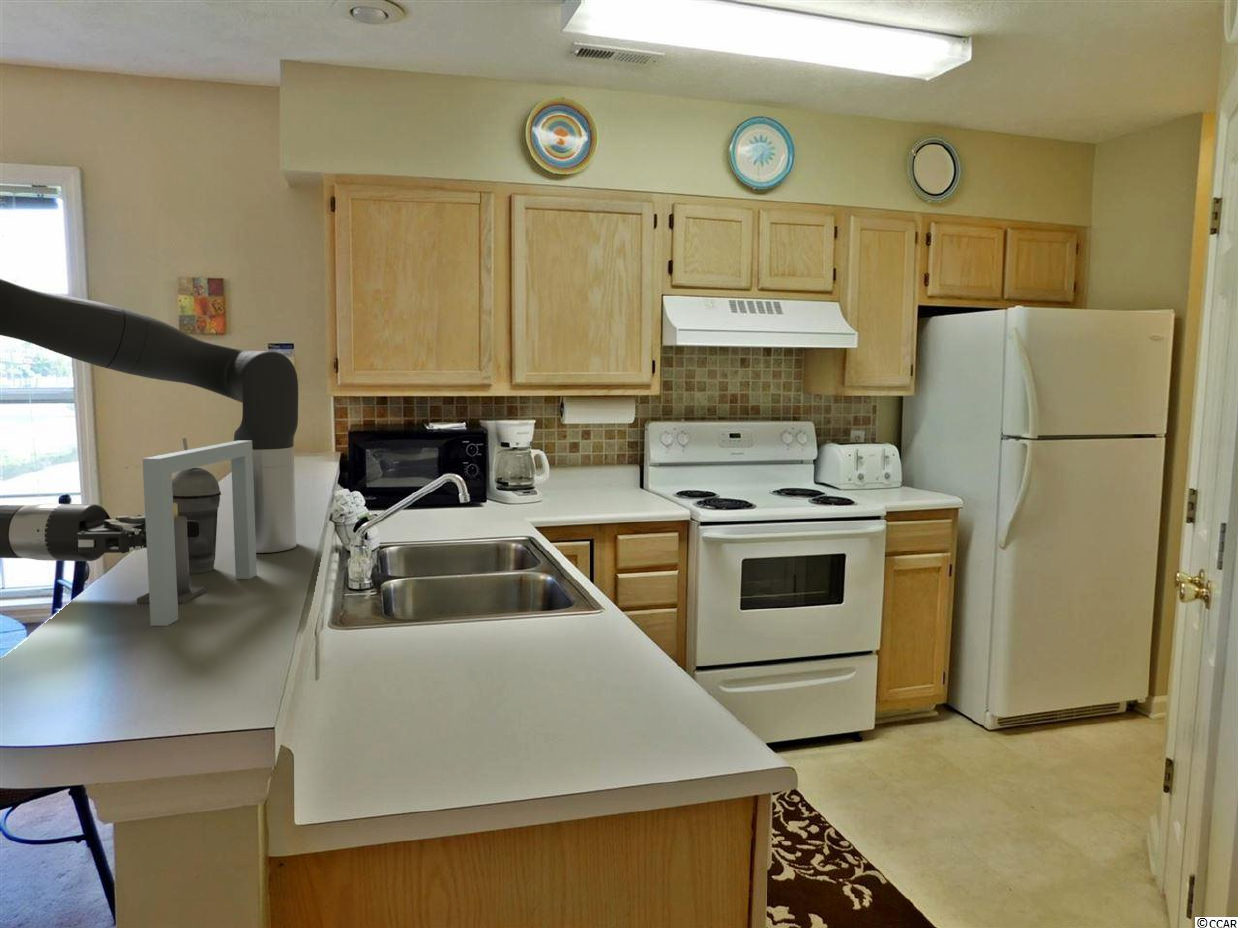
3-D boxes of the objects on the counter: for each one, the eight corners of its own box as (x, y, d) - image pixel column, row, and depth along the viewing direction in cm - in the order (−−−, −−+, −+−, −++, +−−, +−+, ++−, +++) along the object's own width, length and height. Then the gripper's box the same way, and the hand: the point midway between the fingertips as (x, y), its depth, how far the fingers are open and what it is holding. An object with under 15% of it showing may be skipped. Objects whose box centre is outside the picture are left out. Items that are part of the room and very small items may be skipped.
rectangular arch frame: (243, 574, 126) (238, 440, 124) (256, 574, 126) (252, 440, 124) (150, 625, 101) (142, 458, 99) (167, 625, 101) (159, 458, 99)
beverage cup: (209, 576, 125) (204, 440, 123) (160, 575, 125) (154, 439, 123) (232, 565, 132) (228, 436, 130) (186, 564, 132) (181, 435, 130)
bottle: (163, 588, 116) (159, 501, 114) (196, 588, 116) (192, 501, 114) (144, 596, 111) (140, 506, 110) (178, 597, 111) (174, 506, 110)
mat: (161, 590, 117) (161, 586, 117) (205, 591, 117) (205, 587, 117) (137, 602, 111) (136, 598, 111) (183, 603, 111) (182, 598, 111)
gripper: (21, 513, 105) (156, 515, 105) (93, 496, 119) (211, 497, 119) (25, 572, 106) (159, 574, 106) (96, 548, 120) (214, 550, 120)
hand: (186, 533), depth 113 cm, fingers open, 6 cm apart
